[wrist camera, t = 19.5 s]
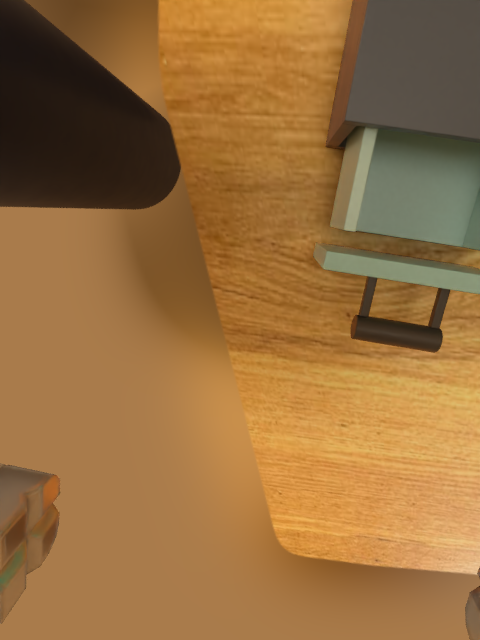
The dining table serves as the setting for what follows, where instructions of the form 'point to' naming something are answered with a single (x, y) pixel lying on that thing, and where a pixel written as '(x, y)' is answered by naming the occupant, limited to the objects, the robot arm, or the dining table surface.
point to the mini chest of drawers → (410, 70)
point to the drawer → (406, 222)
